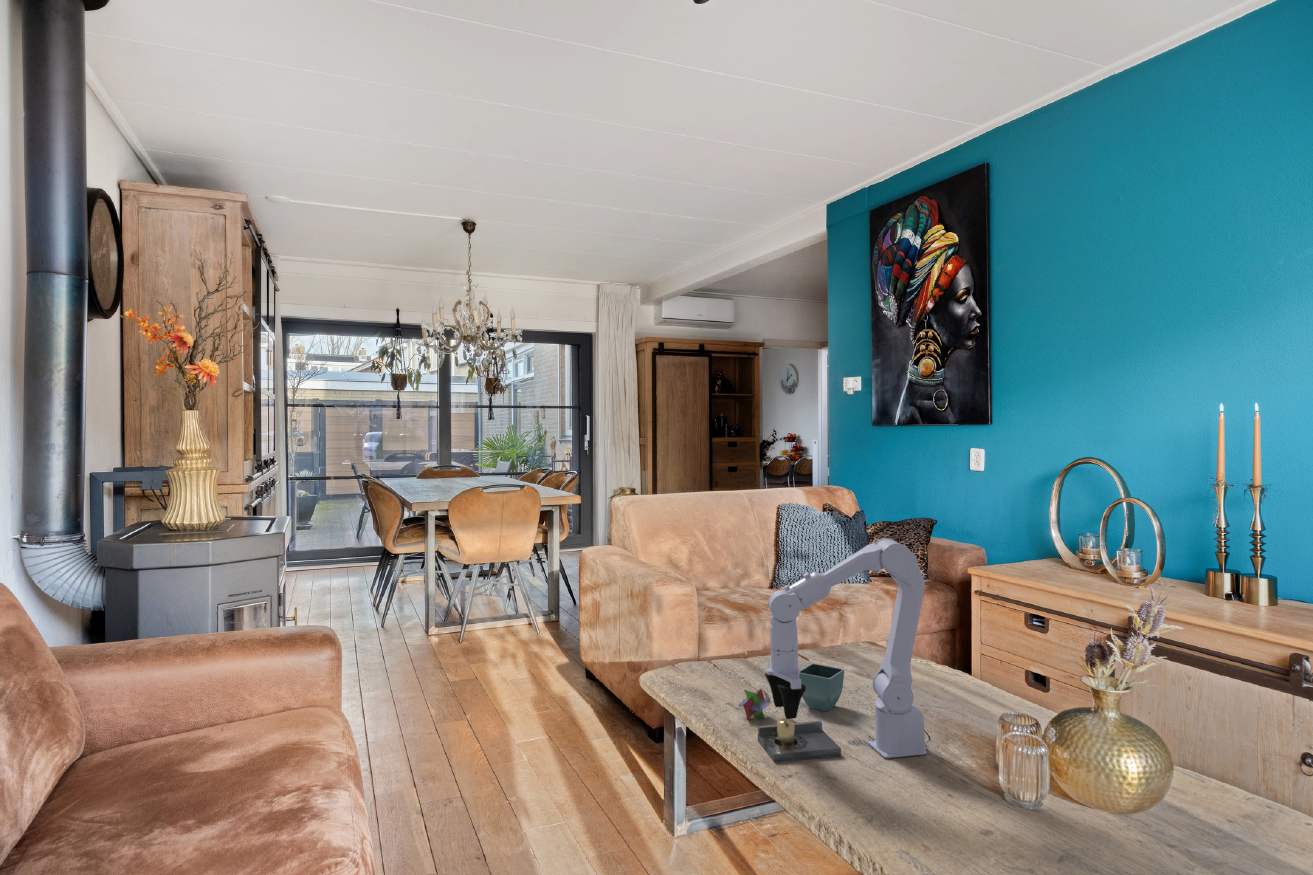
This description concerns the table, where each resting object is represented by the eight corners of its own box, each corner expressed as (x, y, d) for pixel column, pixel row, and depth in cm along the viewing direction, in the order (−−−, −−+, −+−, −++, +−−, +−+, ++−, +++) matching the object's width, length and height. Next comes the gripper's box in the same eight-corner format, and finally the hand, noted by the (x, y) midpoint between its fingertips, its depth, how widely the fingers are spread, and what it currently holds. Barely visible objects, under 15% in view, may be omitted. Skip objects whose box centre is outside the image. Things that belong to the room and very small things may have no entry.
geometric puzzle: (749, 717, 171) (763, 685, 174) (728, 709, 176) (742, 678, 179) (767, 730, 174) (780, 698, 178) (745, 721, 180) (758, 690, 183)
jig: (820, 735, 165) (820, 720, 165) (841, 755, 154) (840, 740, 155) (757, 740, 163) (757, 726, 163) (774, 762, 152) (773, 746, 152)
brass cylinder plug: (791, 745, 160) (790, 717, 160) (797, 752, 157) (796, 723, 157) (775, 746, 160) (774, 718, 160) (780, 753, 156) (780, 725, 156)
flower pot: (831, 716, 177) (830, 678, 177) (797, 708, 182) (796, 671, 182) (845, 705, 184) (845, 668, 184) (812, 698, 189) (812, 662, 189)
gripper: (755, 640, 165) (756, 701, 165) (777, 659, 150) (778, 726, 150) (786, 638, 166) (787, 699, 166) (810, 656, 152) (811, 723, 152)
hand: (785, 712), depth 158 cm, fingers open, 6 cm apart
